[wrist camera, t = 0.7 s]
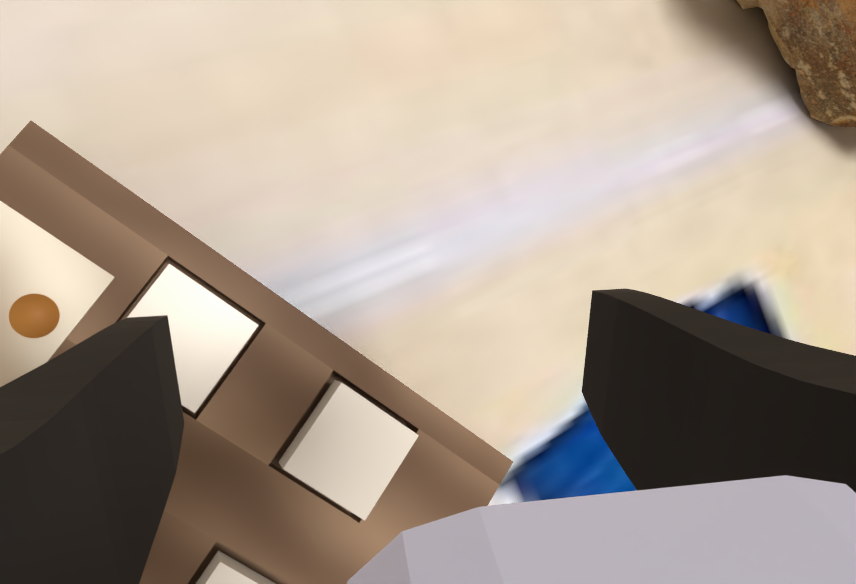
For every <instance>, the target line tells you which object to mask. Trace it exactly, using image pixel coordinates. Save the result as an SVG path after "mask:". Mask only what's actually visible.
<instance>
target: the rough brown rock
mask: <svg viewBox="0 0 856 584" xmlns="http://www.w3.org/2000/svg"><path fill="white" fill-rule="evenodd" d="M736 1H737V2H738V4H739V5H740V6H741V7H742V9H748V8H754V7H760V8H762V9H763V11H764V13H765V15H766V18H767V20H768V28H769V30H770V32H771V35H772V37H773V39H774V41H775V43H776V45H777V46H778V48H779V50H780V52H781V54H782V57H783V59H784V60H785V61H786V62H787V63H788V64H789V66H790V67H791V68H794V69H796V75H797V81H798V84H799V87H800V93H801V97H802V99H803V102H804V104H805V106H806V108H807V109H808V111H809V113H810V117H811V118H814V119H816V120H818V121H821V122H823V123H826V124H829V125H832V126H844V127H856V0H736Z"/></svg>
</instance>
